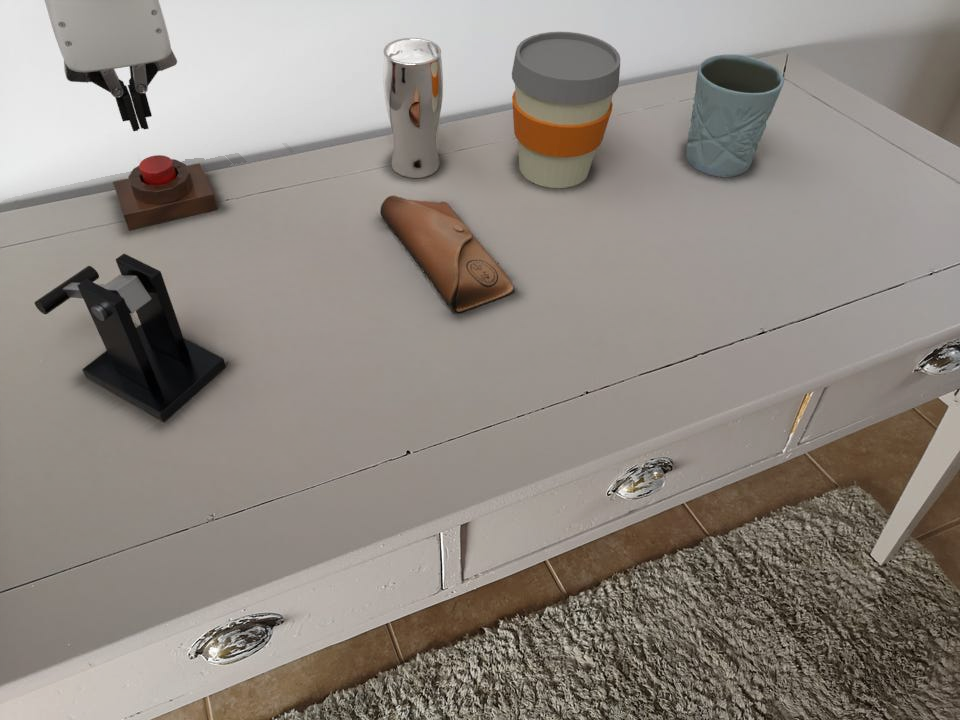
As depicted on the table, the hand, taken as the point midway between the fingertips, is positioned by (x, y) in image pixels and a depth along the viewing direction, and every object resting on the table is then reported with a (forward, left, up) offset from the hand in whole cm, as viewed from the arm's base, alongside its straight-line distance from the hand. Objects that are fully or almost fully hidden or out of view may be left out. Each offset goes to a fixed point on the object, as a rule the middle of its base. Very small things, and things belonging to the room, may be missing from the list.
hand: (138, 123), depth 84 cm
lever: (+10, -23, -3) cm, 25 cm away
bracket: (+13, -24, -10) cm, 29 cm away
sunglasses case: (+34, +1, -11) cm, 36 cm away
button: (0, 0, -7) cm, 7 cm away
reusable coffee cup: (+42, +22, -11) cm, 49 cm away
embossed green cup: (+62, +31, -11) cm, 71 cm away
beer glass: (+25, +17, -11) cm, 32 cm away
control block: (0, 0, -10) cm, 10 cm away
